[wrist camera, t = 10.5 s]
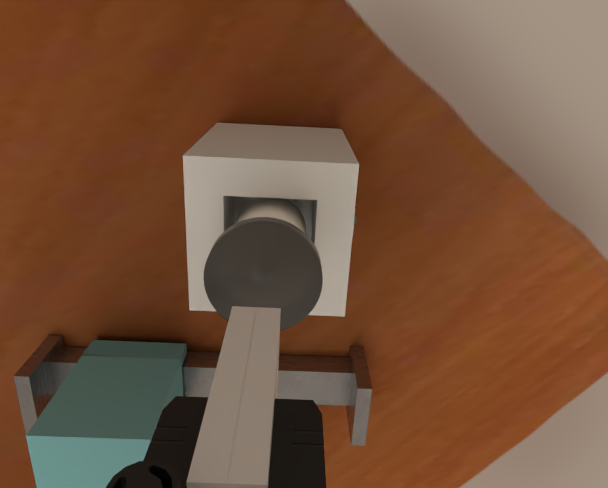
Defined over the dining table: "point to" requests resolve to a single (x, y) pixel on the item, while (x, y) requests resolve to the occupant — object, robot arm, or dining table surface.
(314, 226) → the cabinet
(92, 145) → the dining table surface
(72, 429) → the block
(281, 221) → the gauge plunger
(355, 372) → the rail
